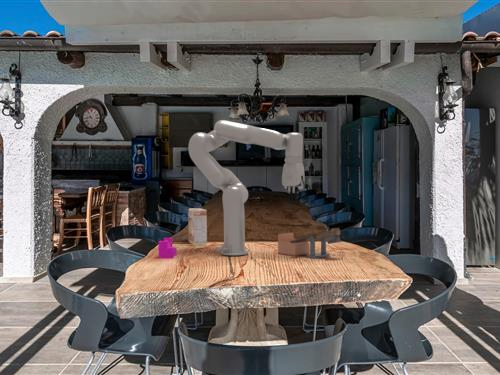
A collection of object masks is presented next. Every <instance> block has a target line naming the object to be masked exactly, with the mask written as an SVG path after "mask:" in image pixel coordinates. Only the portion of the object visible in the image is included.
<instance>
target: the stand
mask: <svg viewBox="0 0 500 375" xmlns="http://www.w3.org/2000/svg"><path fill="white" fill-rule="evenodd" d="M309 243H310V254H305V256H306V259H311V260H318V259H324V258H327V257H328V258H329V257H330V256H331V255H330V254H331V253H327V237H326V238H321V239H320V252H316V240H315V236H310V241H309Z"/></svg>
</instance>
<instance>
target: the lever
mask: <svg viewBox="0 0 500 375" xmlns="http://www.w3.org/2000/svg"><path fill="white" fill-rule="evenodd" d="M340 235H342V234H341V229H340V228H339V227H334V228H333V227H332V228H330V230H329V229H328V230H322V231H318V232H314V233H310V234H305V235H300V236H295V237H294V239H295V240H293V241H290V243H299V242H306V241H308V242H310V236H315V241H317V240H321V238H326V243H327V244H335V243H341V238H340Z"/></svg>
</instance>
